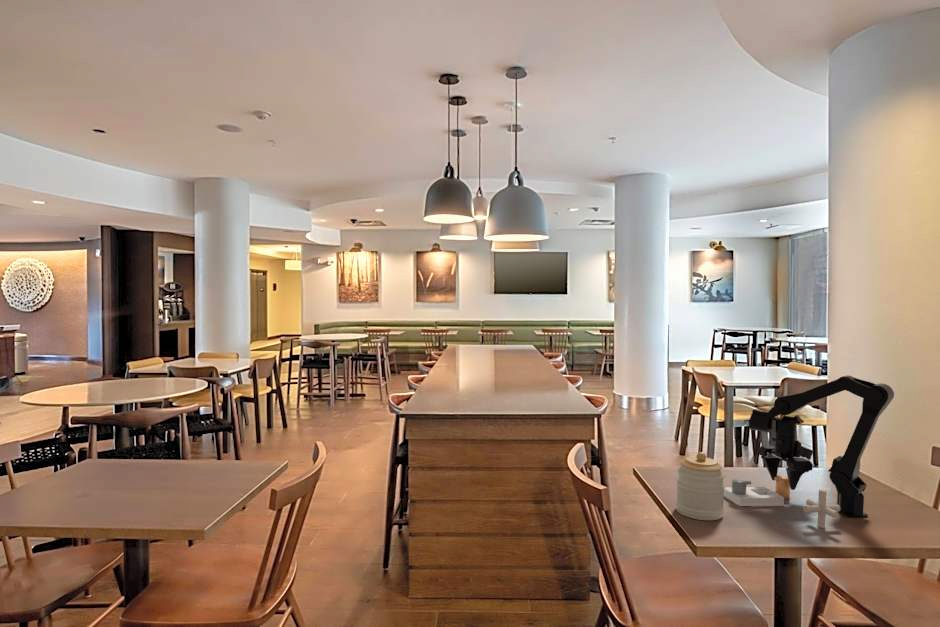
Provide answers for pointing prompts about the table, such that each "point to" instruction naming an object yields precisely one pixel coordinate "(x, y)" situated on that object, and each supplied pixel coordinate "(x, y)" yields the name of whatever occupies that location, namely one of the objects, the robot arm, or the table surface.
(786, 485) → the orange rounded tapered piece
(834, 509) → the pipe connector
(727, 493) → the housing
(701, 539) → the table surface
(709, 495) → the jar
